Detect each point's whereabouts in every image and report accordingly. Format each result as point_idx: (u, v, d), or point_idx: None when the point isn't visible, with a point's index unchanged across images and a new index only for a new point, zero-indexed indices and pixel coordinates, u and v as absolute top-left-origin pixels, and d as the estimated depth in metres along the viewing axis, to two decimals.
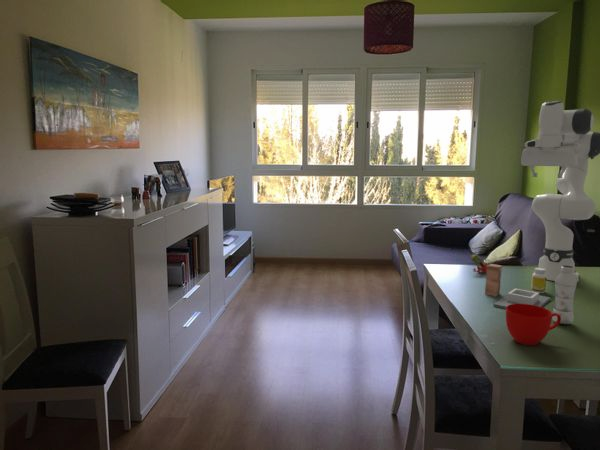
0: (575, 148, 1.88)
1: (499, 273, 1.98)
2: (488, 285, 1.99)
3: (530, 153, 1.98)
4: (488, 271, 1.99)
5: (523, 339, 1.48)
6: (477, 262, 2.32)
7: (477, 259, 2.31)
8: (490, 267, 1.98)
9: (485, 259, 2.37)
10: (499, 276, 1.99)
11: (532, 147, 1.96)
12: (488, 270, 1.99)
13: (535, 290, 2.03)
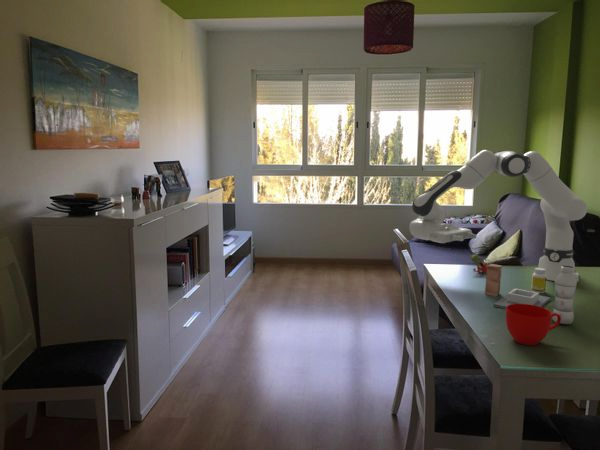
0: (433, 236, 2.10)
1: (499, 273, 1.98)
2: (488, 285, 1.99)
3: None
4: (488, 271, 1.99)
5: (523, 339, 1.48)
6: (477, 262, 2.32)
7: (477, 259, 2.31)
8: (490, 267, 1.98)
9: (485, 259, 2.37)
10: (499, 276, 1.99)
11: None
12: (488, 270, 1.99)
13: (535, 290, 2.03)
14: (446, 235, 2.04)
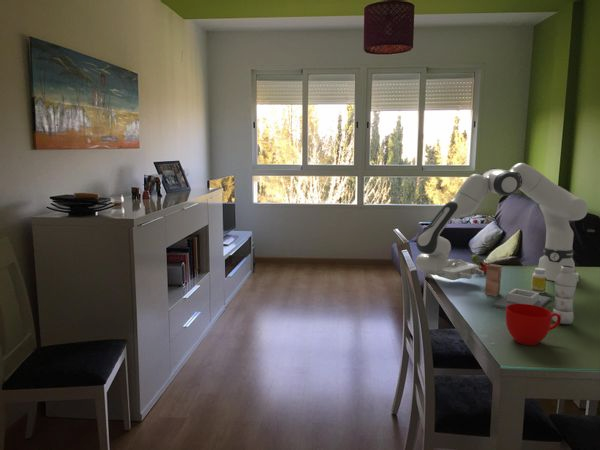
0: None
1: (499, 273, 1.98)
2: (488, 285, 1.99)
3: None
4: (488, 271, 1.99)
5: (523, 339, 1.48)
6: (477, 262, 2.32)
7: (477, 259, 2.31)
8: (490, 267, 1.98)
9: (485, 259, 2.37)
10: (499, 276, 1.99)
11: None
12: (488, 270, 1.99)
13: (535, 290, 2.03)
14: (453, 273, 2.03)
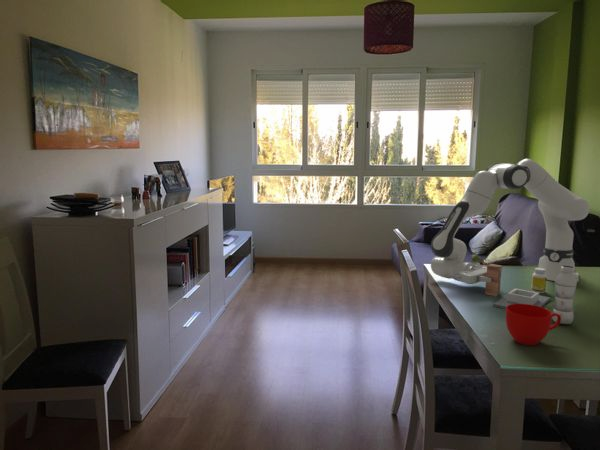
0: None
1: (499, 273, 1.98)
2: (488, 285, 1.99)
3: None
4: (488, 271, 1.99)
5: (523, 339, 1.48)
6: (477, 262, 2.32)
7: (477, 259, 2.31)
8: (490, 267, 1.98)
9: (485, 259, 2.37)
10: (499, 276, 1.99)
11: None
12: (488, 270, 1.99)
13: (535, 290, 2.03)
14: (472, 277, 1.97)
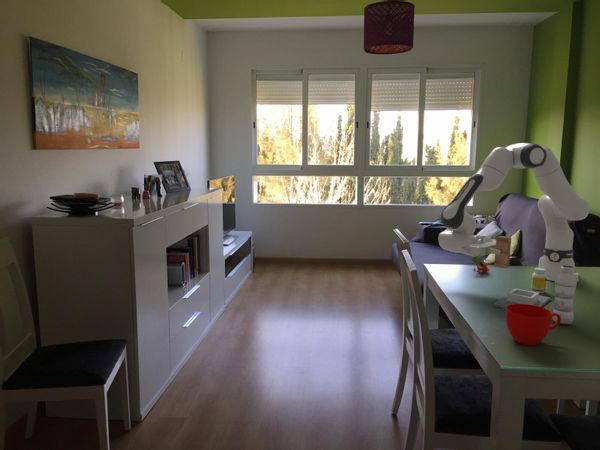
0: None
1: (509, 244, 1.94)
2: (497, 257, 1.95)
3: None
4: (497, 243, 1.94)
5: (523, 339, 1.48)
6: (477, 262, 2.32)
7: (477, 259, 2.31)
8: (499, 239, 1.93)
9: (485, 259, 2.37)
10: (509, 248, 1.94)
11: None
12: (497, 242, 1.94)
13: (535, 290, 2.03)
14: (480, 249, 1.92)
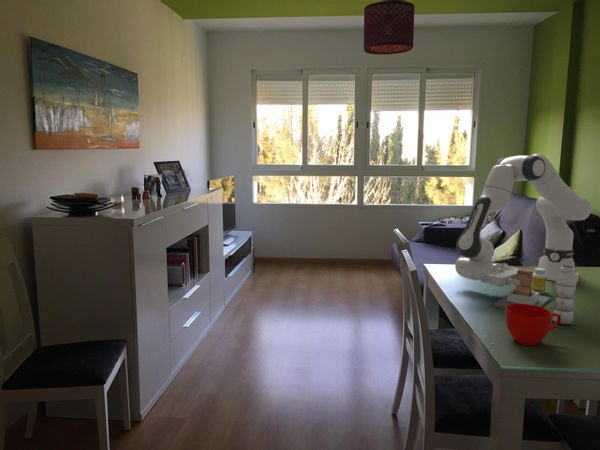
0: None
1: (531, 278, 1.87)
2: (518, 291, 1.88)
3: None
4: (518, 276, 1.87)
5: (523, 339, 1.48)
6: None
7: None
8: (521, 272, 1.87)
9: None
10: (530, 282, 1.87)
11: None
12: (518, 275, 1.87)
13: (535, 290, 2.03)
14: (502, 279, 1.85)
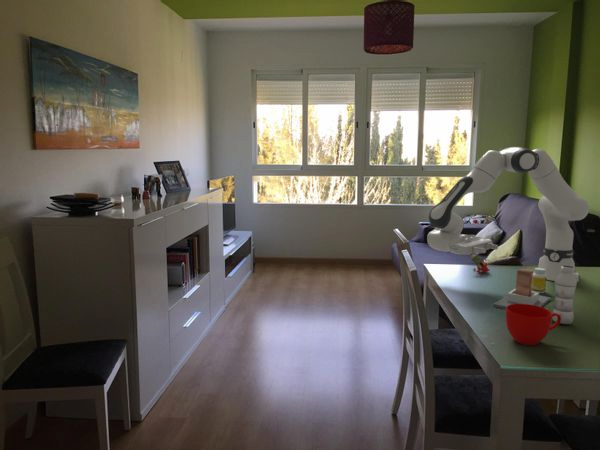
0: None
1: (531, 278, 1.87)
2: (518, 291, 1.88)
3: None
4: (518, 276, 1.87)
5: (523, 339, 1.48)
6: (477, 262, 2.32)
7: (477, 259, 2.32)
8: (521, 272, 1.87)
9: (485, 259, 2.37)
10: (530, 282, 1.87)
11: None
12: (518, 275, 1.87)
13: (535, 290, 2.03)
14: (467, 247, 1.98)
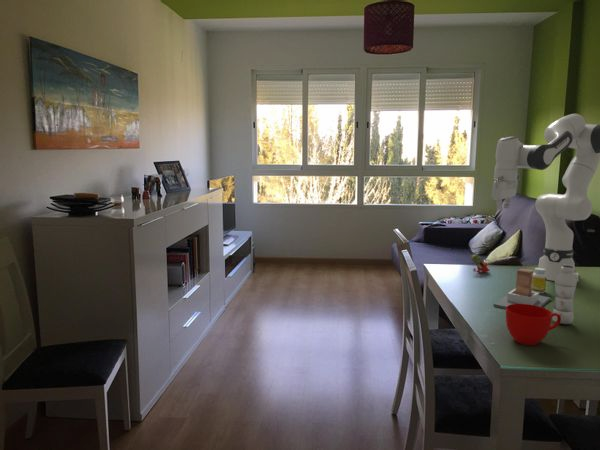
0: None
1: (531, 278, 1.87)
2: (518, 291, 1.88)
3: None
4: (518, 276, 1.87)
5: (523, 339, 1.48)
6: (477, 262, 2.33)
7: (477, 259, 2.32)
8: (521, 272, 1.87)
9: (485, 259, 2.37)
10: (530, 282, 1.87)
11: None
12: (518, 275, 1.87)
13: (535, 290, 2.03)
14: (498, 199, 1.96)
